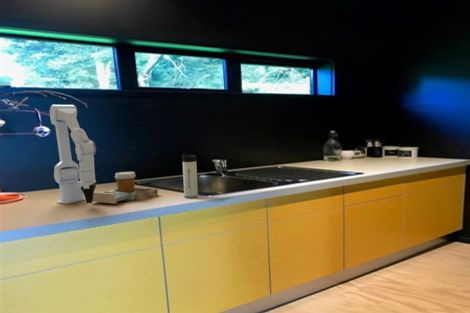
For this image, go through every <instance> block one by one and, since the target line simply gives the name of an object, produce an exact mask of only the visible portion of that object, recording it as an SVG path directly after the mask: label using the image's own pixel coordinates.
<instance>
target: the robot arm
mask: <svg viewBox="0 0 470 313" xmlns="http://www.w3.org/2000/svg"><path fill="white" fill-rule="evenodd" d="M77 115H78V110H77V107H76V105H74V104H52V105H50V109H49V118H50V122H51V125H54V127H55V134H56V141H57V149H58V156H59V162H58V163H56V165H54V167H53V168H54V169H53V170H54V172H53V178H54V181H55V182H56V183H57V184H58V185H59V186H58V187H59V196H60V198H59V199H60V200H58V201H56V203H57V204H66V205H67V204H72V203H77V202H81V201H85V202H86V204H93V202H94V201H93V194H94V192H95V190H96V186H97V185H96V183H97V180H96V172H95V170H96V169H95V157H94V155H96V151H97V147H96V144H95V142H94V140H92V139H89V137H88V135H87V133H86V131H85V130H84V129H83V128H82V127H81V128H80V124H79V122H78V119H77ZM68 128H69V129H70V131H71V132H70V137H71V139H72V142H74V145H75V149H74V150H75V154H76V158H77V161H78V163H79V164H78V163H77V162H75V161H74V160H73V159H72V152H71V151H72V150H71V145H70V137H69V129H68ZM79 180H80V181H79Z"/></svg>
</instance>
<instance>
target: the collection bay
mask: <svg viewBox="0 0 470 313" xmlns="http://www.w3.org/2000/svg"><path fill="white" fill-rule="evenodd" d="M112 190H113V189H111V190H106V191H104V193H107V192H108V191H112ZM114 190H116V192H118V188H116V189H114ZM134 192H136V194H135V199H134V201H135V202H140V201H143V200H147V199H150V198H153V197H157V196H159V193H158V189H157V188H148V187H147V188H146V187H137V186H136V187H135V186H134Z"/></svg>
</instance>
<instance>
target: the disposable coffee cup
mask: <svg viewBox="0 0 470 313" xmlns="http://www.w3.org/2000/svg"><path fill="white" fill-rule="evenodd" d="M136 176H137V175H136V172H135V171H120V172H116V173H115V176H114V179H115V182H116V186H117V189H118V192H124V193H132V192H134V187H135V183H136V182H135V181H136V179H135V178H136Z"/></svg>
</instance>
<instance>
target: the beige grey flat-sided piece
mask: <svg viewBox="0 0 470 313" xmlns="http://www.w3.org/2000/svg"><path fill="white" fill-rule="evenodd" d="M111 190H112V191H110V190H107V191H108V192H107V193H105V192H101V191H100V192H98V191H94V194H93V202H96V203H106V204H113V205H118V204H119V202H120V201H124V202H128V201H132V200H135V194H136V192H132V193H124V192H116V190H115V189H111Z"/></svg>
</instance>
